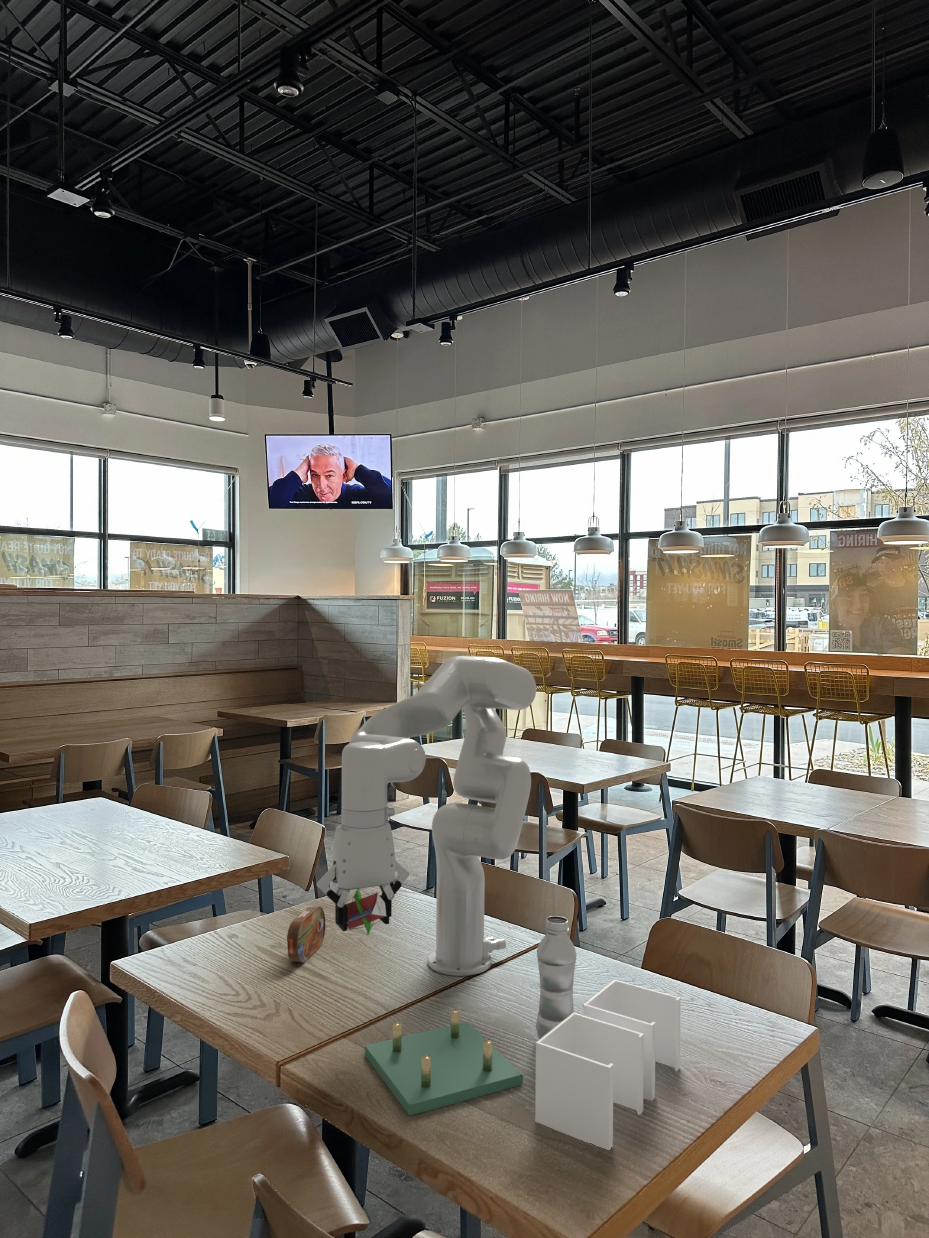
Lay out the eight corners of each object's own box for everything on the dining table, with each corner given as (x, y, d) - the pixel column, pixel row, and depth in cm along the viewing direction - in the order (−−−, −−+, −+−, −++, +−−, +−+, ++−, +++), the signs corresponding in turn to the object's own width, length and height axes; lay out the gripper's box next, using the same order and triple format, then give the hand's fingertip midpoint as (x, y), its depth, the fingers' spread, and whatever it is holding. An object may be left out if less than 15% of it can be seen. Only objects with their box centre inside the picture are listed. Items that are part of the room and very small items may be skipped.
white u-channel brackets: (613, 1047, 136) (614, 979, 136) (679, 1069, 130) (680, 997, 130) (535, 1123, 115) (535, 1042, 115) (609, 1152, 109) (609, 1067, 109)
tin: (299, 969, 165) (299, 926, 165) (283, 968, 165) (284, 924, 165) (326, 940, 179) (327, 901, 179) (312, 939, 180) (313, 899, 180)
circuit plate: (467, 1030, 141) (467, 1021, 141) (522, 1084, 125) (522, 1074, 125) (364, 1054, 133) (364, 1045, 133) (409, 1115, 116) (409, 1104, 116)
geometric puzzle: (327, 923, 138) (356, 885, 137) (336, 909, 144) (364, 872, 144) (361, 951, 137) (391, 913, 137) (369, 935, 144) (397, 898, 144)
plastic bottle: (548, 1057, 132) (550, 929, 132) (528, 1037, 138) (529, 915, 138) (584, 1049, 135) (585, 924, 135) (562, 1030, 141) (563, 910, 141)
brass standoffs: (457, 1033, 137) (457, 1008, 137) (493, 1070, 126) (494, 1043, 126) (391, 1048, 131) (391, 1023, 131) (423, 1088, 120) (423, 1060, 120)
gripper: (404, 808, 148) (403, 910, 148) (307, 817, 140) (306, 925, 140) (421, 817, 141) (420, 924, 141) (319, 828, 134) (319, 941, 134)
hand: (363, 924), depth 141 cm, fingers closed on geometric puzzle, 6 cm apart
